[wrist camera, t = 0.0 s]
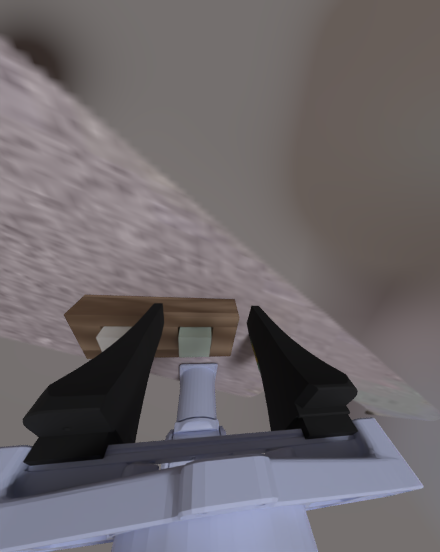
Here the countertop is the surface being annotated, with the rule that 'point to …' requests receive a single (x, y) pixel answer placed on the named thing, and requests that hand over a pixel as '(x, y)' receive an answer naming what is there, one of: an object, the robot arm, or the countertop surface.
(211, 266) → the countertop surface
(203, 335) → the sage key
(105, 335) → the off white key
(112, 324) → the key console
